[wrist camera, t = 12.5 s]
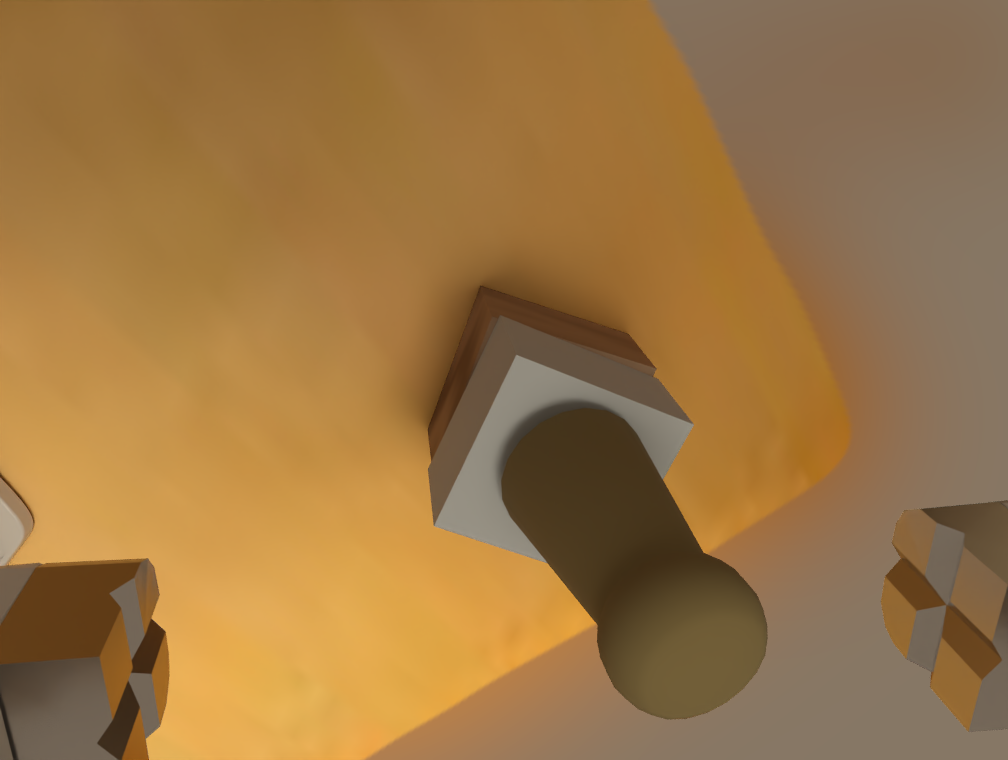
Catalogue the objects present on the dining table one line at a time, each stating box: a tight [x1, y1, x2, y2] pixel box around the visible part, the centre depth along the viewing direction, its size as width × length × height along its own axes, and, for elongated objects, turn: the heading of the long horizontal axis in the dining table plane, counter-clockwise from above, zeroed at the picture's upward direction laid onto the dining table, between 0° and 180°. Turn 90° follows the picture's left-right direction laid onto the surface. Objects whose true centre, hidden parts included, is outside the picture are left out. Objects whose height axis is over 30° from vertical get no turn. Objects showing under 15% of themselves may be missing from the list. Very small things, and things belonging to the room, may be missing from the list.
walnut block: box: [428, 286, 656, 462], centre depth 42 cm, size 8×8×5 cm
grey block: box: [428, 315, 694, 563], centre depth 38 cm, size 8×8×5 cm
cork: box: [501, 408, 767, 719], centre depth 30 cm, size 6×6×11 cm
